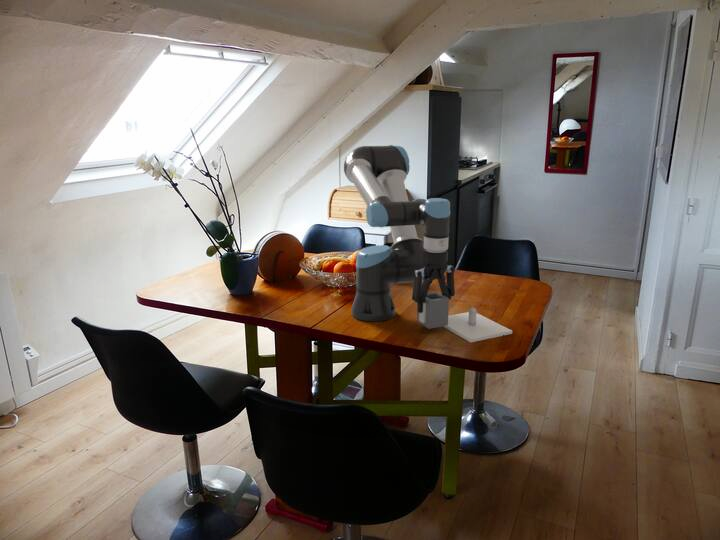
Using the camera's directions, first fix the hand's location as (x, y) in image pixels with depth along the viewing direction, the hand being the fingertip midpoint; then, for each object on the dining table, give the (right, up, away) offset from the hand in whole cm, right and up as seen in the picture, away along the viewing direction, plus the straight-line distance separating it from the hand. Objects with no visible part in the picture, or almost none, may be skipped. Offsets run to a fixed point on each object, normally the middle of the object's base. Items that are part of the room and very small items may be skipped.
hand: (432, 319), depth 174 cm
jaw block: (0, -1, 0) cm, 1 cm away
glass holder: (-10, +12, +59) cm, 61 cm away
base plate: (+13, -3, +3) cm, 14 cm away
